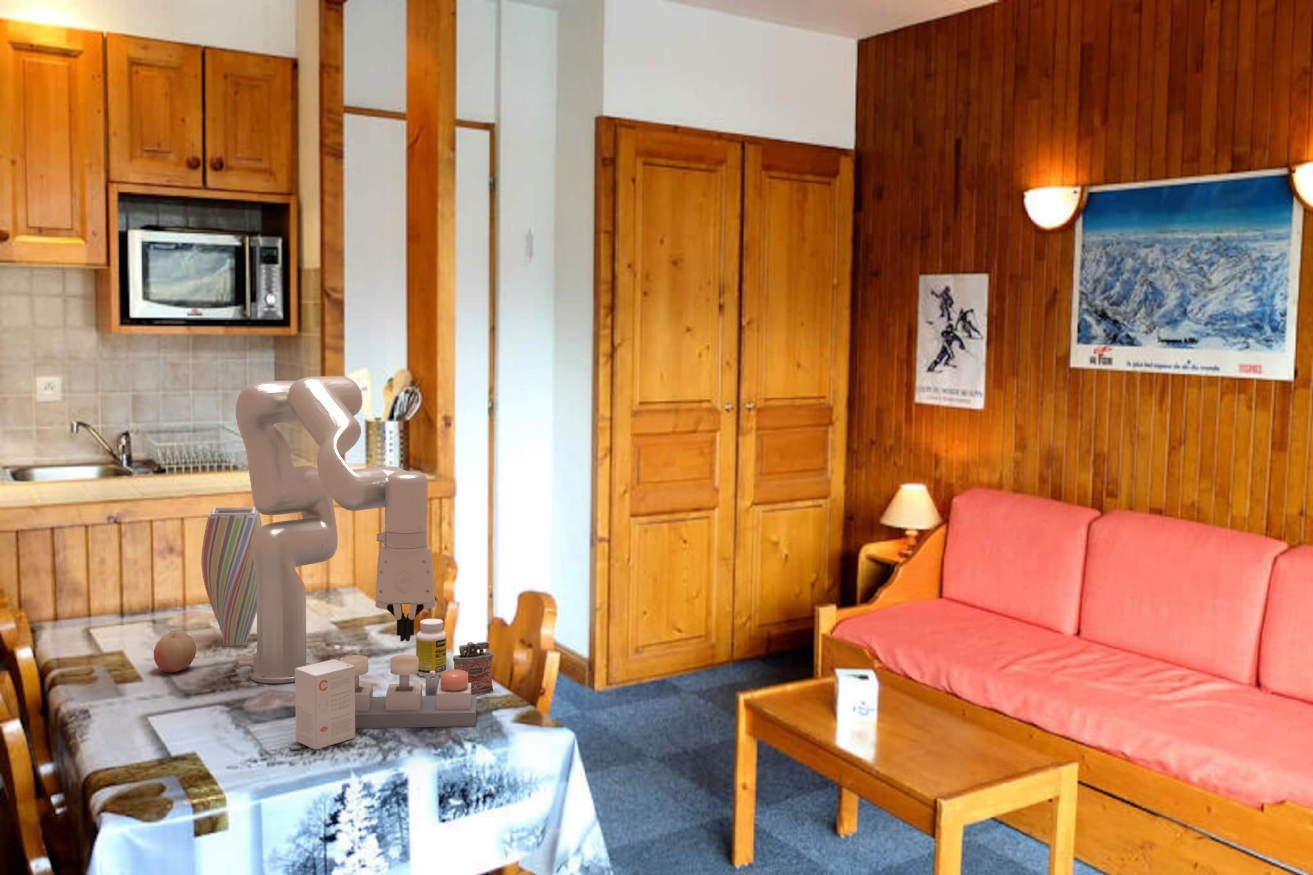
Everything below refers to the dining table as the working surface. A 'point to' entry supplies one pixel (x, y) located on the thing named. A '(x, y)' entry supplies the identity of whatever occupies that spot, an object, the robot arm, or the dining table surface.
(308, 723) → the small box
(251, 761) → the dining table surface
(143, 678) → the dining table surface
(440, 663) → the pill bottle
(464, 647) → the lighter
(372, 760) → the dining table surface
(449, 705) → the mount board
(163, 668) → the fruit
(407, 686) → the knob mid
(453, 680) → the knob far
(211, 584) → the vase
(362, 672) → the knob near
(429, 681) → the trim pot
